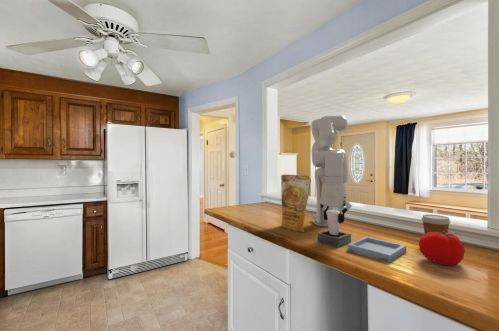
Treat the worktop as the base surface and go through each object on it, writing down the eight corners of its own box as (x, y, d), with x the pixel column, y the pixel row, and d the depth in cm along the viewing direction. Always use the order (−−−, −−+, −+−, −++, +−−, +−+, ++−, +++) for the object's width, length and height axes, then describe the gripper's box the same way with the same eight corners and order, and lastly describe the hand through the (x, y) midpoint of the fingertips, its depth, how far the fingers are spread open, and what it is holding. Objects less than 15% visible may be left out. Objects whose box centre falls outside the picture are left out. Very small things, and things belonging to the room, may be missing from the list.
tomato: (450, 273, 77) (450, 238, 77) (410, 258, 89) (411, 229, 89) (474, 265, 83) (474, 233, 83) (434, 253, 94) (434, 225, 94)
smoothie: (342, 236, 105) (342, 203, 105) (326, 235, 107) (326, 202, 106) (340, 231, 112) (340, 200, 111) (325, 231, 113) (325, 200, 112)
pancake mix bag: (285, 223, 140) (285, 174, 140) (312, 231, 125) (311, 175, 125) (276, 225, 137) (276, 174, 136) (302, 233, 121) (302, 175, 121)
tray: (347, 250, 97) (347, 244, 97) (366, 242, 107) (366, 236, 107) (390, 262, 86) (390, 255, 86) (406, 251, 96) (406, 245, 95)
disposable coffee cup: (420, 241, 108) (420, 213, 108) (448, 244, 104) (448, 215, 103) (422, 247, 100) (422, 217, 100) (452, 251, 95) (452, 220, 95)
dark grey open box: (317, 241, 109) (317, 233, 109) (330, 237, 115) (330, 229, 115) (338, 247, 101) (338, 238, 101) (351, 242, 108) (351, 234, 108)
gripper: (311, 179, 112) (312, 218, 113) (348, 182, 99) (348, 227, 100) (321, 178, 117) (321, 216, 118) (357, 180, 104) (357, 223, 105)
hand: (333, 220), depth 109 cm, fingers closed on smoothie, 6 cm apart
